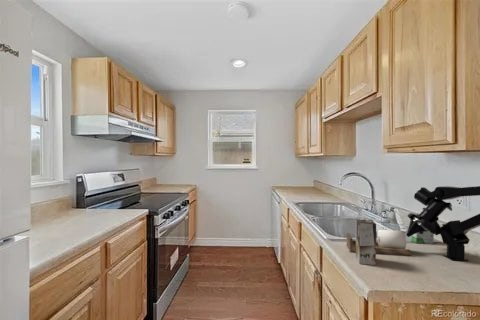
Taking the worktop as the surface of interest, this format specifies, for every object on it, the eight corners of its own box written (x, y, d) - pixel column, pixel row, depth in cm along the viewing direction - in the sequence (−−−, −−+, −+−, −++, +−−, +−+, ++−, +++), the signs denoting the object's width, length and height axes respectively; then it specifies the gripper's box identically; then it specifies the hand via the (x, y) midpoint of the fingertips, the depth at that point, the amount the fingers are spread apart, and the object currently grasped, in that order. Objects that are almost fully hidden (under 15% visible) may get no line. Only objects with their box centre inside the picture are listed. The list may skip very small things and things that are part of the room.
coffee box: (376, 265, 120) (376, 223, 120) (358, 264, 121) (359, 223, 121) (371, 257, 129) (371, 219, 129) (355, 256, 130) (355, 218, 130)
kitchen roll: (401, 246, 141) (401, 229, 141) (406, 251, 133) (406, 233, 133) (376, 245, 143) (377, 227, 143) (381, 250, 135) (381, 232, 135)
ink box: (416, 243, 151) (416, 219, 151) (411, 240, 156) (411, 217, 156) (434, 243, 151) (434, 219, 151) (428, 241, 156) (428, 217, 155)
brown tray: (402, 248, 142) (402, 235, 142) (409, 256, 131) (410, 242, 131) (346, 245, 147) (346, 232, 147) (349, 252, 136) (350, 238, 136)
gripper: (458, 228, 126) (430, 255, 128) (438, 219, 144) (414, 243, 146) (436, 209, 127) (408, 236, 130) (419, 203, 146) (395, 226, 148)
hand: (407, 236), depth 138 cm, fingers closed
